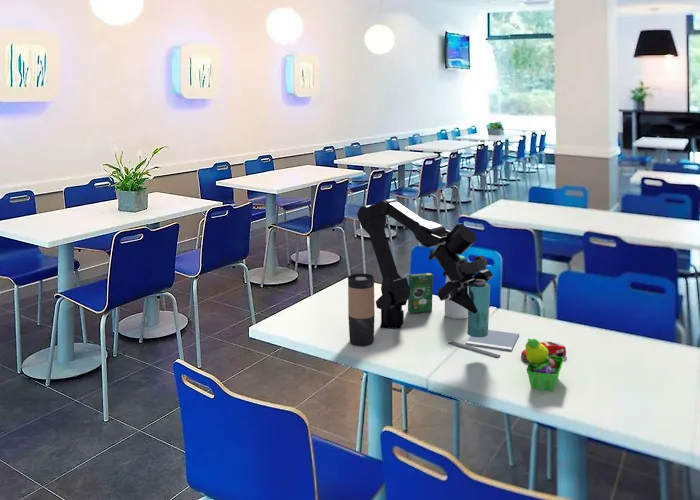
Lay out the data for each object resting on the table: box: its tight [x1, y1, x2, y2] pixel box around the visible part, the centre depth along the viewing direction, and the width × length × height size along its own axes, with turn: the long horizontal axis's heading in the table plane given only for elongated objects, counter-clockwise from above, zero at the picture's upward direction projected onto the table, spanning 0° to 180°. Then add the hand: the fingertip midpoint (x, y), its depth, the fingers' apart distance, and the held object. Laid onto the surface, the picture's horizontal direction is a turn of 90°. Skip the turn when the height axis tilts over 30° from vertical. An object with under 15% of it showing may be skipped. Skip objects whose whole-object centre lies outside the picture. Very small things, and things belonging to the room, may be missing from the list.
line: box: [448, 340, 501, 359], centre depth 174 cm, size 16×2×1 cm, turn 47°
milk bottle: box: [444, 254, 469, 320], centre depth 199 cm, size 8×8×20 cm
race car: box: [520, 341, 567, 363], centre depth 168 cm, size 13×5×4 cm, turn 109°
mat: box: [465, 329, 520, 352], centre depth 181 cm, size 13×13×1 cm
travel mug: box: [347, 273, 376, 348], centre depth 179 cm, size 8×8×20 cm
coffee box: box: [407, 272, 434, 314], centre depth 204 cm, size 8×3×13 cm, turn 107°
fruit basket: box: [525, 338, 565, 392], centre depth 153 cm, size 11×9×11 cm
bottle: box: [466, 279, 491, 337], centre depth 167 cm, size 6×6×15 cm
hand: (482, 310), depth 167 cm, fingers closed on bottle, 6 cm apart
